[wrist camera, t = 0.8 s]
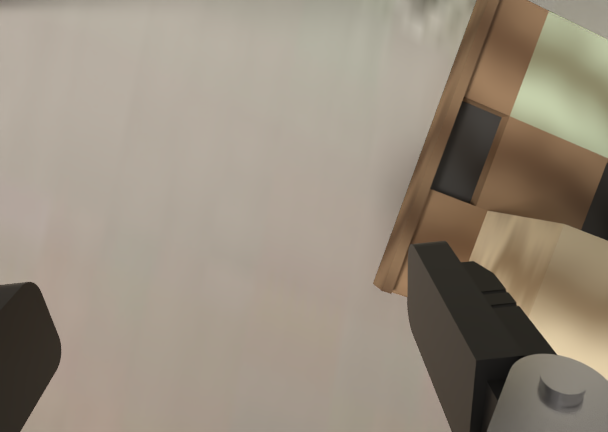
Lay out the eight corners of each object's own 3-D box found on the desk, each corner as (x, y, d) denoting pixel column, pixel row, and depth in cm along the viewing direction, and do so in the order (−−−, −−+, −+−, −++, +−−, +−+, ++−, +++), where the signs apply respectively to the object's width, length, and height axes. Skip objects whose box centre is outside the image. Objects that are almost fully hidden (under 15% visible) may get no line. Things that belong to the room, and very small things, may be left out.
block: (527, 336, 36) (611, 383, 29) (450, 310, 35) (514, 353, 27) (564, 239, 36) (659, 260, 28) (487, 210, 35) (564, 224, 27)
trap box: (579, 350, 39) (598, 360, 37) (373, 283, 35) (381, 290, 33) (682, 86, 38) (707, 81, 36) (481, -12, 34) (496, -23, 32)
